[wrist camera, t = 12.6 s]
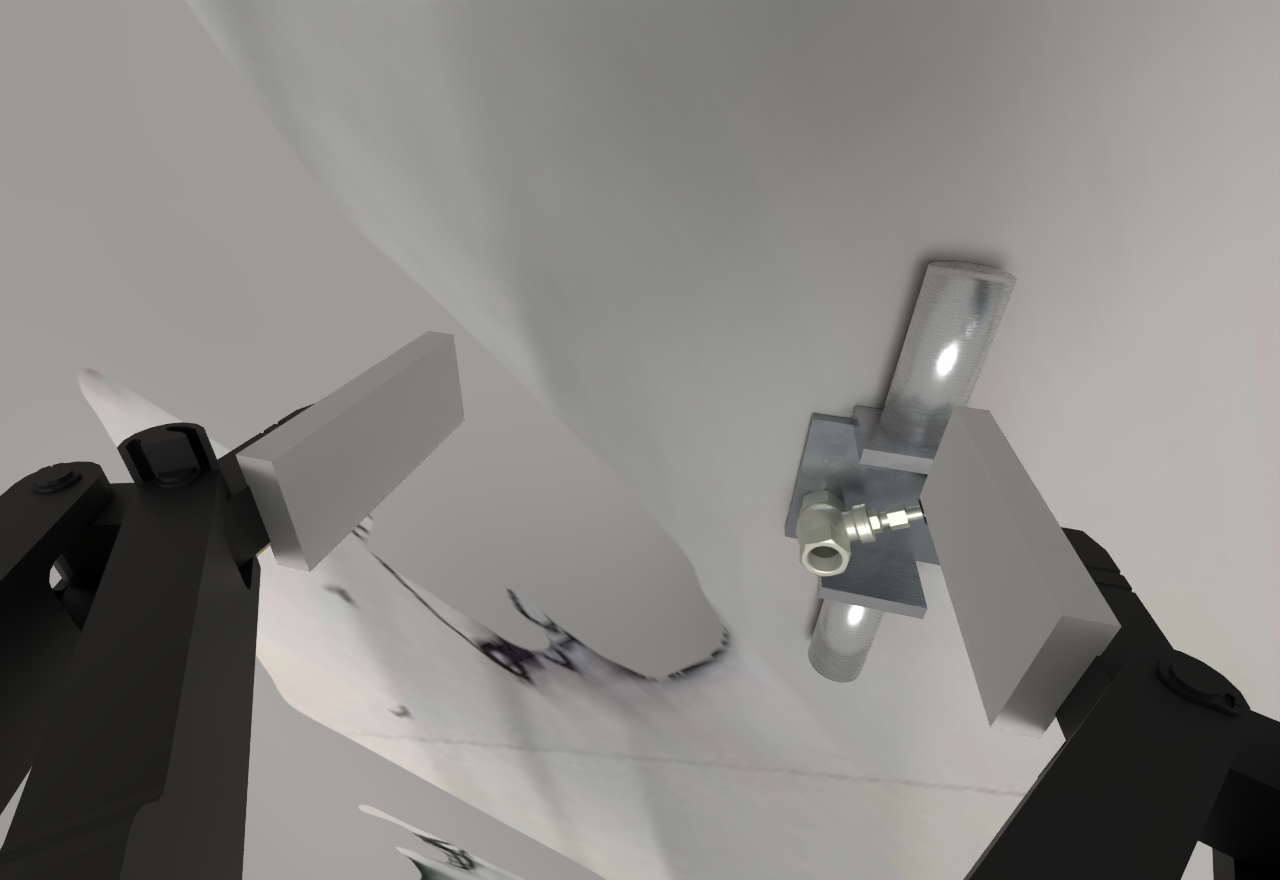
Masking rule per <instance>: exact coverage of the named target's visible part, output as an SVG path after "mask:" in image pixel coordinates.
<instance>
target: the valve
mask: <svg viewBox="0 0 1280 880" xmlns="http://www.w3.org/2000/svg"><path fill="white" fill-rule="evenodd" d="M918 501H919V506H914V507H909V508H905V506H904V504H903V503H899V504H894V505H889V506H885V509H886V511H884V512H878V511H877V510H876V509H870V510H868V508H867V505H866V504H865V503H864V504H860V505H855V506H852V511H847V512H846V509H845V503H844V502H843V501H842V500H841V499H840V498H839V497H837V496H836V495H835V494H833V493H832V492H830V491H829V490H821V491H816V492H812V493H809V494H806V495H804V498H803V501H802V505H801V508H800V517H799V519H798V522H797V526H796V535H797V539H798V542H799V544H800V546H801V548H800V563H801V564H802V565H803V566H804V567H805V568H806V569H808V570H809V571H810V572H812V573H814V574H815V575H817V576H832V575H836V574H840V573H843V572H844V571H845V569H846V567H847V565H848V562H849V558H850V555H851V550H850V542H852V541H856V540H861V542H862V543H869V542H874V541H876V536H875V534H877V533H882V531H883V528H884V527H888V526H890V527H891V529H892V531H893V530H898V529H903V528H909V527H910V523H909V521H913V520H918V519H923V518H924V521H925V524H926V525H928V523H927V520H926V517H925V513H924V510H923V507H922V504H921V500H920V499H918Z"/></svg>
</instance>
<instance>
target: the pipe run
mask: <svg viewBox="0 0 1280 880" xmlns="http://www.w3.org/2000/svg"><path fill="white" fill-rule="evenodd" d="M1016 280H1017V278H1016V277H1015V276H1014V275H1012V274H1010V273H1008V272H1005V271H1002V270H999V269H996V268H992V267H988V266H983V265H978V264H972V263H965V262H953V261H939V262H933V263H930V264H929V265H928V268H927V271H926V274H925V277H924V280H923V284H922V287H921V290H920V293H919V296H918V300H917V303H916V306H915V309H914V312H913V316H912V319H911V322H910V325H909V328H908V332H907V335H906V338H905V341H904V344H903V348H902V351H901V354H900V357H899V361H898V364H897V367H896V370H895V373H894V377H893V380H892V383H891V386H890V389H889V393H888V396H887V399H886V402H885V405H884V409H876V408H869V407H862V406H855V410H854V413H853V417H852V419H849V418H842V417H835V416H829V415H822V414H815V413H813V414H812V418H811V423H810V427H809V431H808V435H807V439H806V444H805V448H804V452H803V456H802V460H801V464H800V469H799V473H798V477H797V481H796V485H795V490H794V494H793V498H792V502H791V506H790V510H789V515H788V519H787V523H786V527H785V536H787V537H792V538H797V535H796V526H797V522H798V519H799V517H800V508H801V505H802V501H803V498H804V495H806V494H809V493H812V492H816V491H821V490H829V491H830V492H832V493H833V494H835V495H836V496H837V497H839V498H840V499H841V500H842V501H843V502H844V503H845V509H846V512H847V511H852V506H855V505H860V504H864V503H865V504H866V505H867V508H868V510H870V509H876V510H877V511H878V512H884V511H886V509H885V506H889V505H894V504H899V503H903V504H904V506H905V508H909V507H914V506H919V501H918V499H920V494H921V492H922V489H923V487H924V484H925V481H926V479H927V476H928V474H929V471H930V468H931V466H932V463H933V461H934V458H935V455H936V453H937V450H938V448H939V445H940V442H941V440H942V437H943V435H944V432H945V429H946V427H947V424H948V422H949V419H950V417H951V414H952V411H953V409H954V406H961V407H966V406H967V404H968V401H969V399H970V396H971V394H972V391H973V389H974V386H975V383H976V381H977V378H978V376H979V373H980V371H981V368H982V366H983V363H984V361H985V358H986V356H987V353H988V351H989V348H990V346H991V343H992V341H993V338H994V336H995V333H996V331H997V328H998V326H999V323H1000V321H1001V318H1002V316H1003V313H1004V311H1005V308H1006V306H1007V303H1008V301H1009V298H1010V296H1011V293H1012V291H1013V288H1014V286H1015V283H1016ZM909 523H910V527H909V528H903V529H898V530H893V531H892V529H891V527H890V526H888V527H884V528H883V531H882V533H877V534H875V536H876V541H874V542H869V543H862V542H861V540H856V541H852V542H850V550H851V555H850V558H849V562H848V565H847V567H846V569H845V571H844V572H843V573H840V574H836V575H832V576H818V596H819V598H822V599H824V601H823V604H822V607H821V610H820V614H819V617H818V620H817V623H816V626H815V630H814V633H813V636H812V639H811V642H810V646H809V649H808V658H809V661H810V663H811V665H812V666H813V668H814V669H815V670H816V671H817V672H818V673H819V674H821V675H822V676H824V677H825V678H827V679H830V680H832V681H836V682H850V681H853V680H854V679H856V678H857V677H858V676H859V674H860V672H861V670H862V667H863V665H864V662H865V660H866V657H867V655H868V652H869V650H870V647H871V645H872V642H873V640H874V637H875V635H876V632H877V630H878V627H879V625H880V622H881V620H882V617H883V615H884V612H885V611H886V612H891V613H896V614H901V615H905V616H910V617H915V618H920V619H923V617H924V615H925V612H926V610H927V605H926V601H925V597H924V594H923V590H922V586H921V582H920V578H919V574H918V570H917V566H916V562H915V561H921V562H926V563H931V564H937V565H940V562H939V559H938V556H937V552H936V549H935V546H934V543H933V539H932V536H931V533H930V530H929V526H928V525H926V524H925V521H924V518H923V519H918V520H913V521H909Z"/></svg>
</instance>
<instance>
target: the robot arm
mask: <svg viewBox="0 0 1280 880" xmlns="http://www.w3.org/2000/svg"><path fill="white" fill-rule="evenodd" d="M463 421H464V412H463V405H462V397H461V389H460V381H459V373H458V365H457V358H456V350H455V343H454V335H453V334H446V333H439V332H432V331H428V332H426V333H425V334H423V335H422V336H420V337H418V338H417V339H415V340H414V341H412V342H411V343H409V344H407V345H406V346H404V347H403V348H401V349H400V350H398V351H396V352H395V353H393V354H392V355H390V356H389V357H387V358H386V359H384V360H383V361H381V362H379V363H378V364H376V365H375V366H373V367H372V368H370V369H368V370H367V371H365V372H364V373H362V374H361V375H359V376H357V377H356V378H354V379H353V380H351V381H350V382H348V383H347V384H345V385H343V386H342V387H340V388H339V389H337V390H336V391H334V392H333V393H331V394H329V395H328V396H326V397H325V398H323V399H322V400H320V401H318V402H317V403H315V404H312V405H309V406H307V407H304V408H301V409H299V410H296V411H294V412H293V413H291V414H290V415H288V416H286V417H285V418H283V419H282V420H280V421H279V422H278V424H274V425H272V426H271V427H269V428H267V429H266V430H264V433H259V434H258V435H256V436H255V437H253V438H251V439H250V440H248V441H247V442H245V443H244V444H242V445H240V446H239V447H237V448H236V449H234V450H232V451H231V452H229V453H228V454H226V455H224V456H223V457H221V458H220V459H218V460H217V458H216V456H215V453H214V451H213V449H212V446H211V444H210V441H209V439H208V436H207V434H206V431H205V429H204V427H202V426H200V425H198V424H193V423H171V424H165V425H160V426H156V427H152V428H149V429H146V430H143V431H141V432H138V433H136V434H134V435H132V436H130V437H129V438H127V439H125V440H124V441H123V442H122V443H121V444H120V445H119V446H118V447H117V449H118V451H119V453H120V455H121V457H122V459H123V461H124V463H125V464H126V467H127V469H128V471H129V473H130V475H131V477H132V478H133V480H134V482H135V483H117V484H116V483H115V484H110V483H109V481H108V479H107V477H106V476H105V474H104V472H103V470H102V468H101V466H100V465H98V464H95V463H93V462H71V463H59V464H55V465H53V466H52V467H51V466H48V467H45V468H42V469H40V470H39V471H37V472H35V473H33V474H30V475H28V476H26V477H24V478H23V479H22V480H20V481H19V482H17V483H15V484H14V485H13V486H11V487H10V488H9V489H8V490H7V491H6V492H5V493H4V494H2V495H1V496H0V815H1V813H2V812H3V810H4V809H5V807H6V806H7V804H8V803H9V801H10V799H11V798H12V796H13V795H14V793H15V792H16V790H17V789H18V787H19V786H20V784H21V782H22V781H23V779H24V778H25V776H26V775H27V773H28V772H29V770H30V769H31V771H30V774H29V776H28V779H27V782H26V785H25V787H24V790H23V793H22V796H21V798H20V801H19V804H18V807H17V809H16V812H15V814H14V817H13V820H12V823H11V825H10V828H9V831H8V833H7V836H6V839H5V842H4V844H3V846H2V848H1V850H0V880H242V870H243V854H244V853H243V852H244V837H245V820H246V803H247V786H248V770H249V754H250V737H251V720H252V719H251V718H252V703H253V686H254V671H255V654H256V637H257V621H258V604H259V587H260V571H261V568H260V565H259V561H258V559H257V556H256V554H257V553H258V552H259V551H261V550H262V549H263V548H264V547H265V546H266V545H268V544H269V543H270V546H271V548H272V551H273V553H274V556H275V559H276V561H277V564H278V565H282V566H286V567H290V568H295V569H299V570H304V571H308V572H310V571H311V570H312V569H313V568H314V567H315V566H316V565H317V564H318V563H319V562H320V561H321V560H322V559H324V558H325V557H326V556H327V555H328V554H329V553H330V552H331V551H332V550H333V549H334V548H335V547H336V546H337V545H338V544H339V543H340V542H341V541H342V540H343V539H344V538H345V537H346V536H347V535H348V534H349V533H350V532H351V531H352V530H353V529H354V528H355V527H356V526H357V525H358V524H359V523H360V522H361V521H362V520H363V519H364V518H365V517H366V516H367V515H368V514H369V513H370V512H371V511H372V510H373V509H374V508H376V506H378V505H379V503H381V502H382V501H383V500H384V499H385V498H386V497H387V496H388V495H389V494H390V493H391V492H392V491H393V490H394V489H395V488H396V487H397V486H398V485H399V484H400V483H401V482H402V481H403V480H404V479H405V478H406V477H407V476H408V475H409V474H410V473H411V472H412V471H413V470H414V469H415V468H416V467H417V466H418V465H419V464H420V463H421V462H422V461H423V460H425V458H427V457H428V456H429V455H430V454H431V453H432V452H433V451H434V450H435V449H436V448H437V447H438V446H439V445H440V444H441V443H442V442H443V441H444V440H445V439H446V438H447V437H448V436H449V435H450V434H451V433H452V432H453V431H454V430H455V429H456V428H457V427H458V426H459V425H460V424H461V423H462V422H463ZM920 500H921V504H922V507H923V510H924V513H925V517H926V520H927V523H928V526H929V530H930V533H931V536H932V539H933V543H934V546H935V549H936V552H937V556H938V559H939V562H940V565H941V569H942V572H943V575H944V578H945V582H946V585H947V588H948V591H949V595H950V598H951V601H952V604H953V608H954V611H955V614H956V617H957V621H958V624H959V627H960V630H961V633H962V637H963V640H964V643H965V646H966V650H967V653H968V656H969V659H970V663H971V666H972V669H973V672H974V676H975V679H976V682H977V685H978V689H979V692H980V695H981V698H982V702H983V705H984V708H985V711H986V715H987V718H988V721H989V724H990V727H991V728H995V729H999V730H1004V731H1008V732H1013V733H1017V734H1021V735H1026V736H1030V737H1034V738H1039V739H1040V738H1041V737H1042V735H1043V734H1044V732H1045V731H1046V730H1047V728H1048V727H1049V726H1050V724H1051V723H1052V721H1053V720H1054V719H1055V717H1056V718H1057V720H1058V723H1059V725H1060V727H1061V730H1062V732H1063V734H1064V737H1065V739H1066V741H1065V743H1064V744H1063V745H1062V746H1061V748H1060V749H1059V750H1058V752H1057V753H1056V754H1055V755H1054V757H1053V758H1052V759H1051V761H1050V762H1049V763H1048V765H1047V766H1046V767H1045V768H1044V770H1043V771H1042V772H1041V774H1040V775H1039V776H1038V779H1037V780H1036V782H1035V783H1034V784H1033V786H1032V787H1031V788H1030V790H1029V791H1028V792H1027V794H1026V795H1025V797H1024V798H1023V799H1022V801H1021V802H1020V803H1019V805H1018V806H1017V807H1016V809H1015V810H1014V812H1013V813H1012V814H1011V816H1010V817H1009V818H1008V820H1007V821H1006V822H1005V824H1004V825H1003V827H1002V828H1001V829H1000V831H999V832H998V833H997V835H996V836H995V837H994V839H993V840H992V842H991V843H990V844H989V846H988V847H987V848H986V850H985V851H984V852H983V854H982V855H981V857H980V858H979V859H978V861H977V862H976V863H975V865H974V866H973V867H972V869H971V870H970V872H969V873H968V874H967V876H966V877H965V878H964V880H1181V877H1182V875H1183V873H1184V871H1185V868H1186V866H1187V864H1188V861H1189V859H1190V857H1191V855H1192V852H1193V850H1194V848H1195V846H1196V843H1197V841H1200V842H1202V843H1204V844H1206V845H1208V846H1210V847H1212V850H1213V875H1214V880H1280V722H1278V721H1276V720H1273V719H1271V718H1268V717H1266V716H1264V715H1261V714H1259V713H1256V712H1254V711H1252V710H1250V707H1249V705H1248V703H1247V702H1246V700H1245V699H1244V697H1243V695H1242V694H1241V692H1240V691H1239V690H1238V689H1237V688H1236V687H1235V686H1234V685H1233V684H1232V683H1231V682H1229V681H1228V680H1227V679H1226V678H1225V677H1224V676H1223V675H1222V674H1220V673H1219V672H1217V671H1216V670H1214V669H1213V668H1211V667H1210V666H1208V665H1207V664H1205V663H1204V662H1202V661H1200V660H1198V659H1196V658H1194V657H1191V656H1189V655H1187V654H1185V653H1183V652H1181V651H1177V650H1174V649H1173V648H1172V646H1171V645H1170V643H1169V642H1168V640H1167V639H1166V637H1165V636H1164V634H1163V633H1162V631H1161V630H1160V628H1159V627H1158V626H1157V624H1156V623H1155V621H1154V620H1153V618H1152V617H1151V615H1150V614H1149V612H1148V611H1147V609H1146V608H1145V607H1144V605H1143V604H1142V602H1141V601H1140V599H1139V598H1138V596H1137V595H1136V593H1133V592H1132V587H1131V586H1130V585H1129V583H1128V582H1127V580H1126V579H1125V577H1124V576H1123V575H1120V570H1119V568H1118V567H1117V566H1116V564H1115V563H1114V561H1113V560H1112V558H1111V557H1110V555H1109V554H1108V552H1107V551H1106V550H1105V549H1104V548H1103V547H1101V546H1100V545H1099V544H1098V543H1096V542H1095V541H1094V540H1093V539H1092V538H1090V537H1089V536H1088V535H1087V534H1086V533H1084V532H1083V531H1080V530H1074V529H1069V528H1063V527H1060V526H1059V524H1058V522H1057V521H1056V519H1055V517H1054V516H1053V514H1052V512H1051V511H1050V509H1049V508H1048V506H1047V504H1046V503H1045V501H1044V499H1043V498H1042V496H1041V495H1040V493H1039V491H1038V490H1037V488H1036V486H1035V485H1034V483H1033V482H1032V480H1031V478H1030V477H1029V475H1028V473H1027V472H1026V470H1025V468H1024V467H1023V465H1022V464H1021V462H1020V460H1019V459H1018V457H1017V455H1016V454H1015V452H1014V451H1013V449H1012V447H1011V446H1010V444H1009V442H1008V441H1007V439H1006V438H1005V436H1004V434H1003V433H1002V431H1001V429H1000V428H999V426H998V424H997V423H996V421H995V420H994V418H993V416H992V415H991V413H990V411H989V410H982V409H975V408H968V407H961V406H954V409H953V411H952V414H951V417H950V419H949V422H948V424H947V427H946V429H945V432H944V435H943V437H942V440H941V442H940V445H939V448H938V450H937V453H936V455H935V458H934V461H933V463H932V466H931V468H930V471H929V474H928V476H927V479H926V481H925V484H924V487H923V489H922V492H921V494H920ZM53 565H54V566H55V568H56V570H57V571H58V573H59V574H60V576H61V577H62V579H61V580H60V581H59V582H58V584H57V585H56V586H55V587H54V588H51V585H50V583H49V577H50V570H51V568H52V566H53ZM31 767H32V768H31Z"/></svg>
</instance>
